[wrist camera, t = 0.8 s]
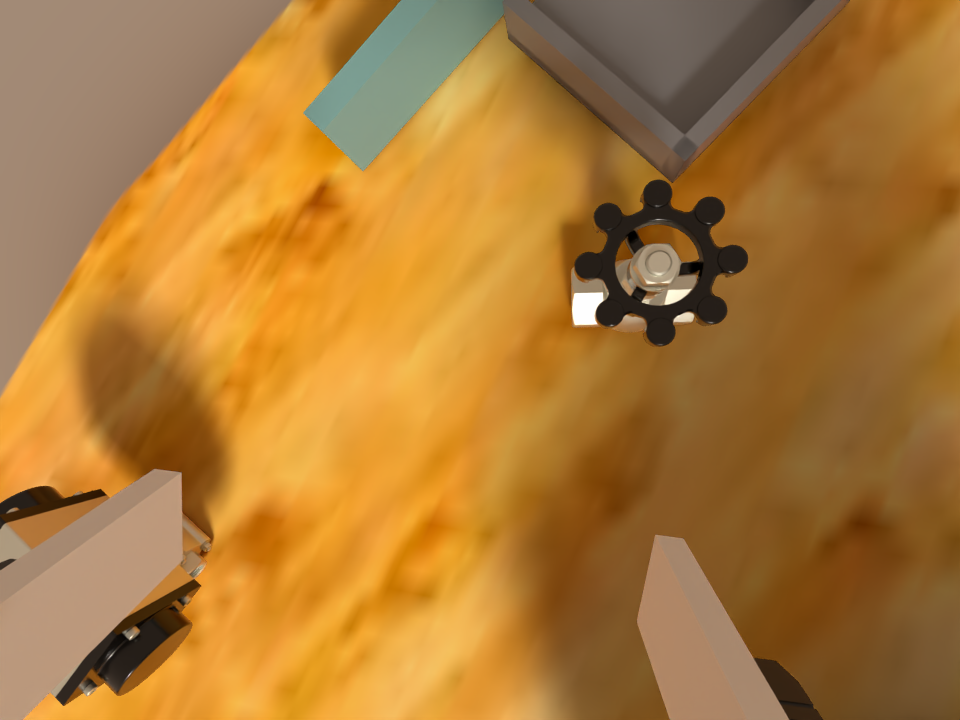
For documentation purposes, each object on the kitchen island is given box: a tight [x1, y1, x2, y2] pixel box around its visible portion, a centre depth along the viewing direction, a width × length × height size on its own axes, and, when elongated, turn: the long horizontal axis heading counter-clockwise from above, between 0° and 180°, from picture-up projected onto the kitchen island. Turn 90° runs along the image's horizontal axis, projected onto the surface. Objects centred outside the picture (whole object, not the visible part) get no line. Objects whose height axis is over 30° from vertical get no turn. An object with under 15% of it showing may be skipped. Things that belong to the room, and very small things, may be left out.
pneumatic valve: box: [0, 486, 212, 706], centre depth 32 cm, size 6×12×12 cm, turn 52°
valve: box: [571, 180, 748, 347], centre depth 27 cm, size 7×7×12 cm
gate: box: [304, 0, 504, 171], centre depth 32 cm, size 2×15×6 cm, turn 137°
